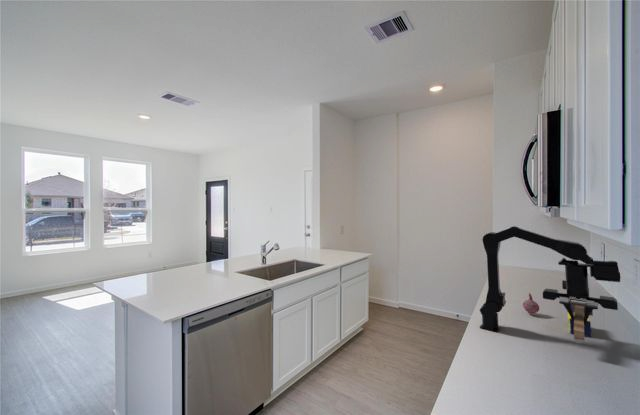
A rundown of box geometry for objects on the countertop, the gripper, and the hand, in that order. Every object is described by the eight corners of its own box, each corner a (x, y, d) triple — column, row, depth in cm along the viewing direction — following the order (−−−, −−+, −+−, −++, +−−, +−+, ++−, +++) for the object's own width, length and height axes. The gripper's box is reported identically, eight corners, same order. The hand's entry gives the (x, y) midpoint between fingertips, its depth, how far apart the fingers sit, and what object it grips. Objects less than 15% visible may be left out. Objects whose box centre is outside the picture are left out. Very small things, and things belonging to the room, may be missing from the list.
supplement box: (569, 333, 105) (567, 324, 113) (591, 337, 101) (587, 328, 109) (569, 318, 105) (567, 310, 113) (590, 321, 101) (587, 313, 109)
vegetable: (536, 312, 126) (535, 291, 127) (542, 317, 121) (541, 295, 121) (521, 311, 128) (519, 290, 129) (526, 316, 122) (525, 294, 123)
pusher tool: (594, 342, 86) (593, 330, 85) (564, 336, 91) (564, 325, 90) (592, 314, 101) (592, 304, 100) (567, 310, 106) (566, 300, 105)
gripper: (614, 277, 94) (617, 323, 93) (545, 271, 107) (547, 310, 107) (616, 284, 86) (619, 333, 86) (541, 276, 99) (543, 318, 99)
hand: (579, 322), depth 94 cm, fingers closed on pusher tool, 2 cm apart
